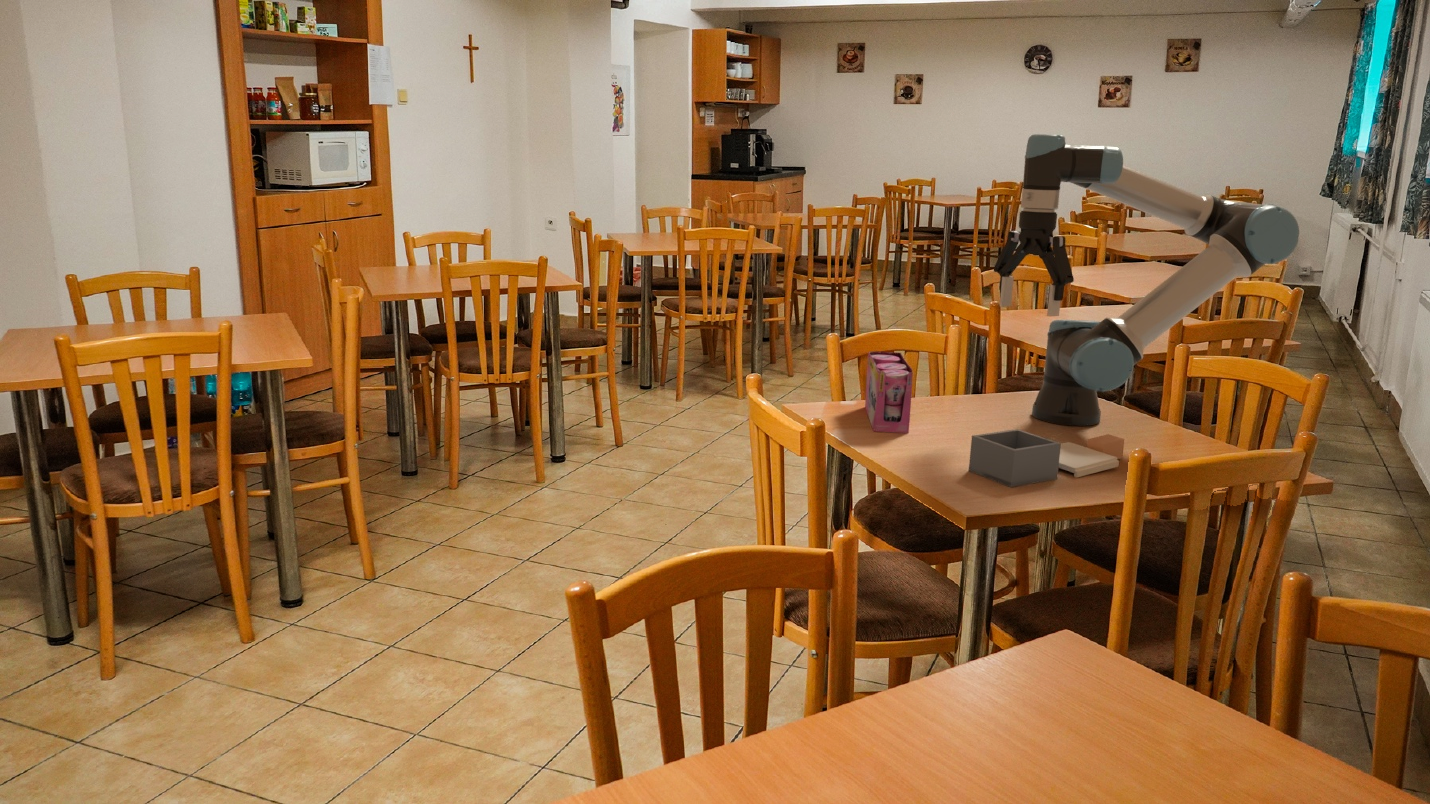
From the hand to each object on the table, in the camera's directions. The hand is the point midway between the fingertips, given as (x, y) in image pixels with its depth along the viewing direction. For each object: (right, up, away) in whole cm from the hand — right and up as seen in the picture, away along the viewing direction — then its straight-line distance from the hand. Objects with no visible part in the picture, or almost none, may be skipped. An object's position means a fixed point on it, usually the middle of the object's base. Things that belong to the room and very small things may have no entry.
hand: (1028, 311), depth 226 cm
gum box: (-28, -24, +13) cm, 39 cm away
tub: (-10, -33, -25) cm, 43 cm away
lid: (+6, -32, -15) cm, 36 cm away
